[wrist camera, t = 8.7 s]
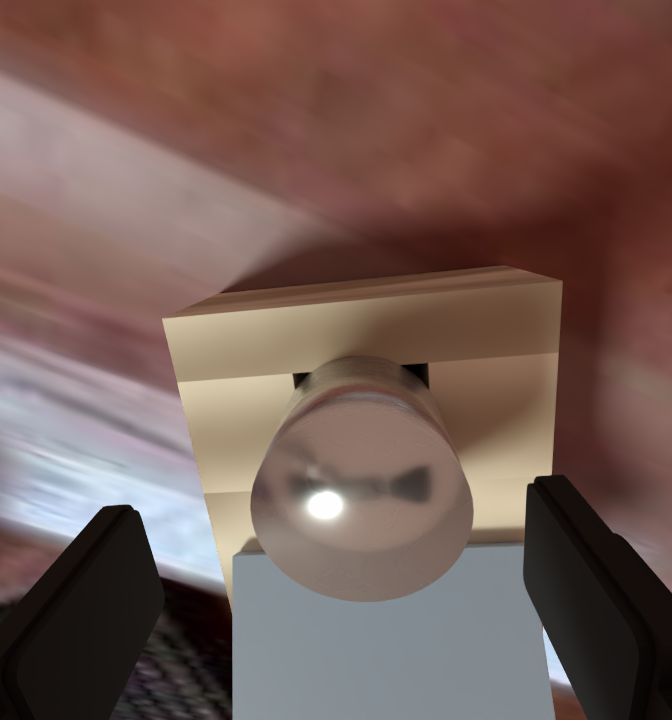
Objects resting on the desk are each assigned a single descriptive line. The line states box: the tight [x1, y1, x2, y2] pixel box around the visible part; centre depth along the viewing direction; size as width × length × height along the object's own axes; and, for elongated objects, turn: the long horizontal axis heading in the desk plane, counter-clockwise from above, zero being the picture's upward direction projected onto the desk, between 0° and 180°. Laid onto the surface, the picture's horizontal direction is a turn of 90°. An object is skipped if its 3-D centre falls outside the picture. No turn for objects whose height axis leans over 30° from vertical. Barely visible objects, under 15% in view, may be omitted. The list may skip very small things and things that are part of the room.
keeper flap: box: [232, 541, 555, 720], centre depth 16 cm, size 9×12×1 cm
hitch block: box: [162, 265, 563, 632], centre depth 20 cm, size 18×14×6 cm
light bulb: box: [250, 356, 474, 602], centre depth 16 cm, size 6×6×10 cm
